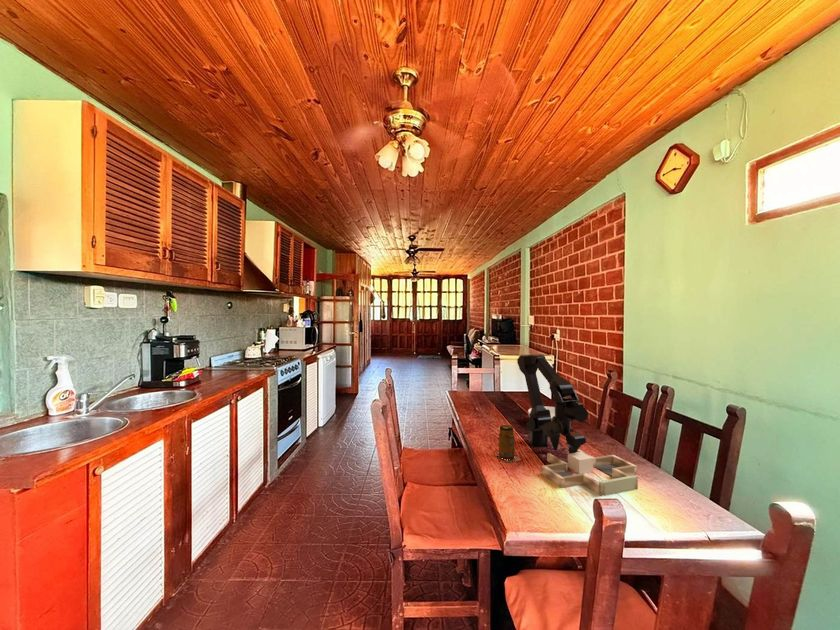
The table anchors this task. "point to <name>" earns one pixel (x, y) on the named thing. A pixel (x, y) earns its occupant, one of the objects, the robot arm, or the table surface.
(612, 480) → the box
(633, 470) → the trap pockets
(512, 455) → the condiment
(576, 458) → the block
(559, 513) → the table surface
